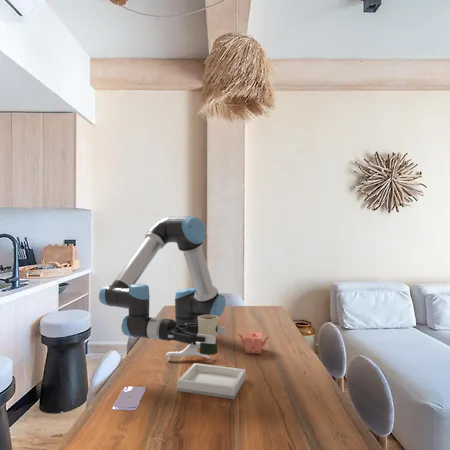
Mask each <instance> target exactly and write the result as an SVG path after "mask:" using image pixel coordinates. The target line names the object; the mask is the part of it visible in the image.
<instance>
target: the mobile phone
mask: <svg viewBox="0 0 450 450" xmlns="http://www.w3.org/2000/svg"><path fill="white" fill-rule="evenodd" d="M145 389H146V387H145V386H125V387H123V389H122V390H121V392H120V394H119V395H118V398H116V401H115V402H114V404H113V406H112V410H113V411H135V410H137V409H138V407H139V404H140V403H141V401H140V400H142V398H143V396H144V394H145V391H146V390H145Z"/></svg>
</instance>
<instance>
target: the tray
mask: <svg viewBox="0 0 450 450" xmlns="http://www.w3.org/2000/svg"><path fill="white" fill-rule="evenodd" d="M246 374H247V373H246V369H245V368H237V367H229V366H221V365H213V364H212V365H211V364H205V363H197V362H193V364H192V365H191V366H190V367H189V368H188V369H187V370H186V371H185V372H184V373H183V374H182V375H180V377H179V378H178V379H177V381H176V391H177V392H183V393H190V394H194V395H195V394H196V395H202V396H203V395H204V396H209V397H210V396H211V397H217V398H222V399H223V398H224V399H231V400H235V398H236V397H237V395H238V393H239V391H240V390H241V389H242V385H243V384H244V382H245V380H246Z"/></svg>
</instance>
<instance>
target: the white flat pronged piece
mask: <svg viewBox="0 0 450 450" xmlns="http://www.w3.org/2000/svg"><path fill="white" fill-rule="evenodd" d="M198 349H200V342H197V341H196V345H193V342H192V344H188V345H187V346H186V347H185V348H184V349H183V350H181V351H168V352H167V353H166V354H165V356H166V357H165V358H166V360H167V362H170V360H171V356H174V357H175V356H176V357H180V358H181V357H190V356H193V357H196V356H197V357H198V356H199V357H201V358H207V359H208V360H211V356H210V355H206V354H200V352H198Z"/></svg>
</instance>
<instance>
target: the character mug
mask: <svg viewBox="0 0 450 450" xmlns="http://www.w3.org/2000/svg"><path fill="white" fill-rule="evenodd" d="M219 319H220V317H218V316H216V315H201V316H198V334H207V335H216V337H217V336H218V335H219V334H218V333H219V326H220V325H219V323H220V322H219V321H220V320H219ZM198 353H200V354H203V355H207V356H210V355H212V356H213V355H217V353H218V346H217V343H216V344H209V343H200V347H199V352H198Z"/></svg>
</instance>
